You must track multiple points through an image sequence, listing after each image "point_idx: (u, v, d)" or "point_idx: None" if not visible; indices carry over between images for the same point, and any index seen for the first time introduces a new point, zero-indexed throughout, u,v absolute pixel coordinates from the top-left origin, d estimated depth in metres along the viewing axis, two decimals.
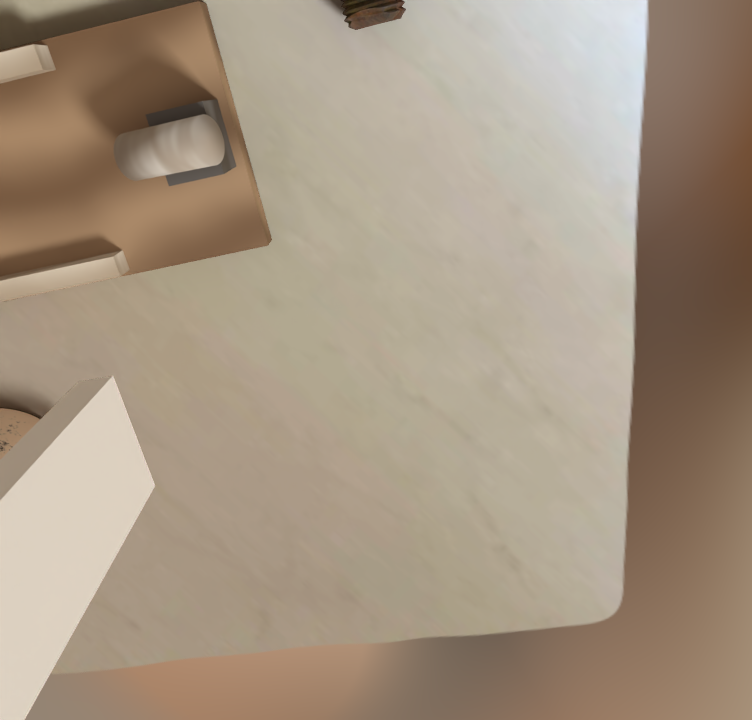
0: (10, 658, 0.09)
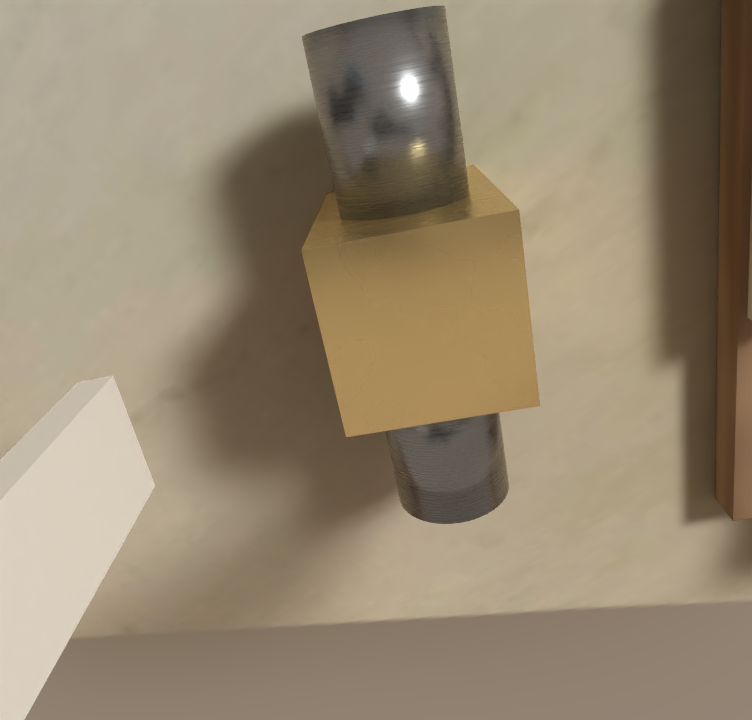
0: (10, 658, 0.09)
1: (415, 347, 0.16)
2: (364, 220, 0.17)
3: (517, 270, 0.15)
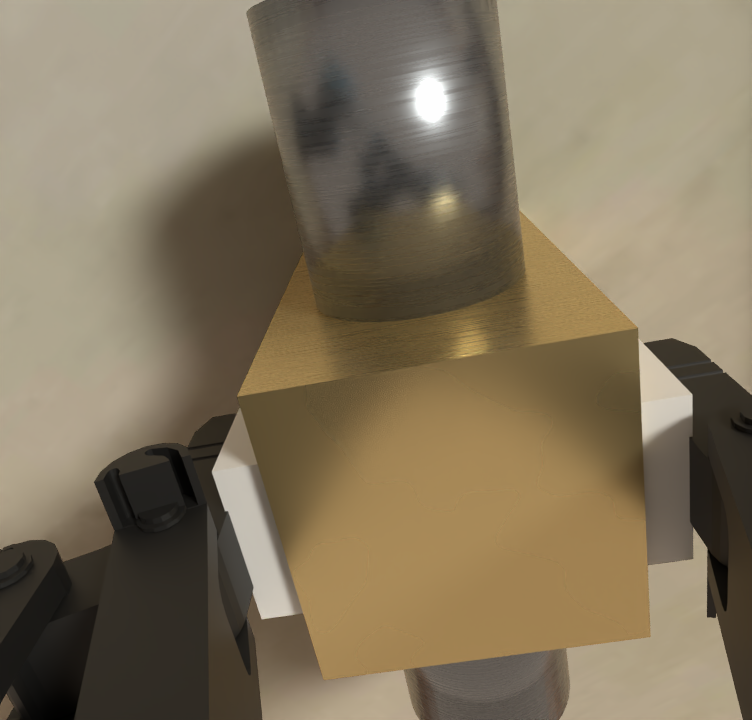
0: None
1: (441, 550, 0.09)
2: (354, 321, 0.10)
3: (627, 430, 0.09)
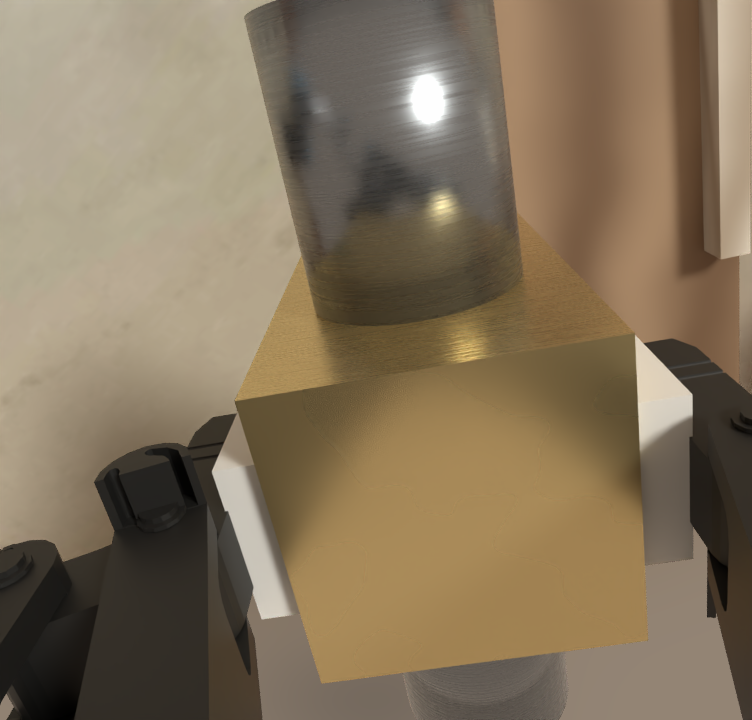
0: None
1: (439, 554, 0.09)
2: (352, 325, 0.10)
3: (625, 435, 0.09)
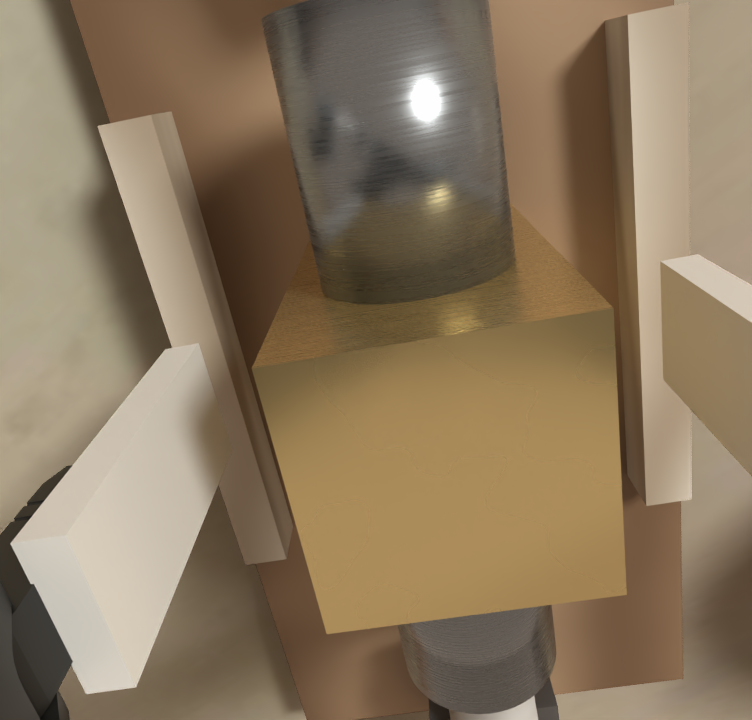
0: (141, 588, 0.10)
1: (435, 512, 0.10)
2: (357, 304, 0.11)
3: (604, 401, 0.09)
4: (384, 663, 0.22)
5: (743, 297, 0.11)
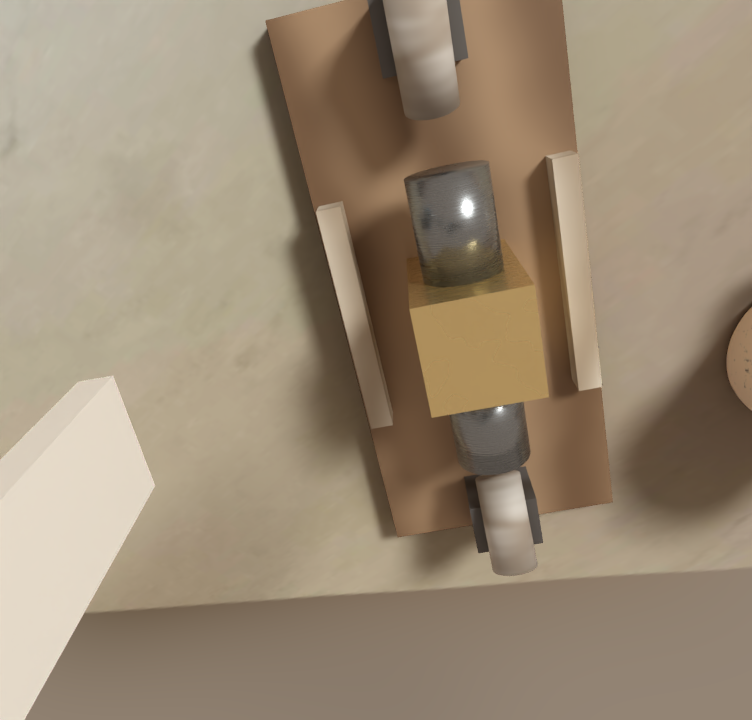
0: (10, 658, 0.09)
1: (474, 363, 0.27)
2: (441, 287, 0.28)
3: (534, 318, 0.26)
4: (441, 495, 0.39)
5: None
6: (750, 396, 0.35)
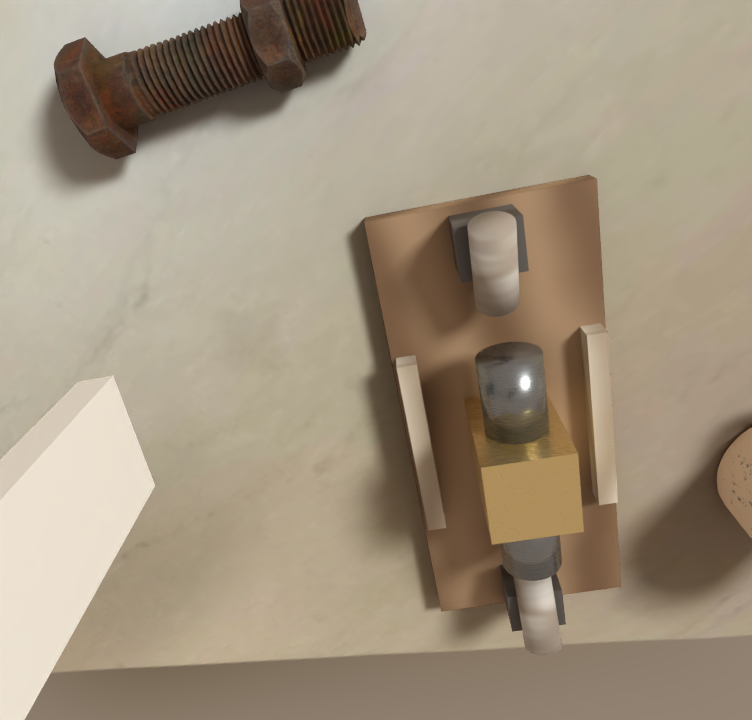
0: (10, 658, 0.09)
1: (528, 506, 0.35)
2: (502, 443, 0.36)
3: (576, 476, 0.35)
4: (480, 579, 0.47)
5: None
6: (735, 511, 0.43)
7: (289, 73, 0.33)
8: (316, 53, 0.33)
